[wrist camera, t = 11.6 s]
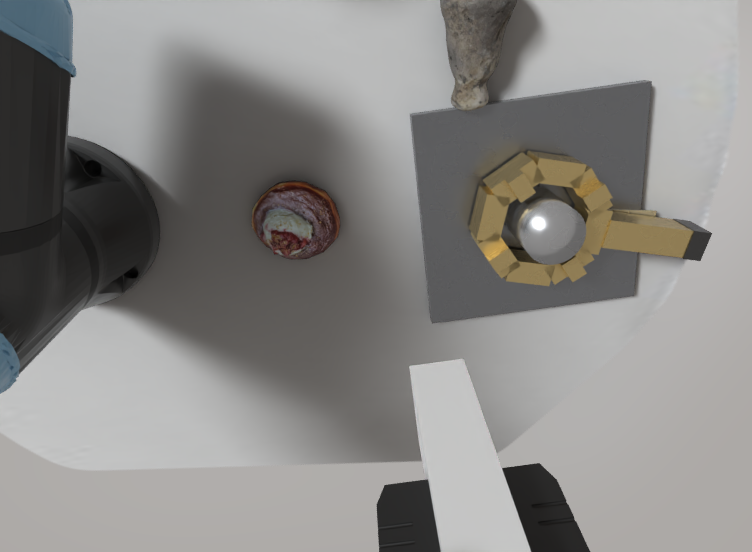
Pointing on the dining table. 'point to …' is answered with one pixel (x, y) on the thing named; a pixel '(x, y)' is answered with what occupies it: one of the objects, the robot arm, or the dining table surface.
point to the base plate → (491, 148)
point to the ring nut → (589, 203)
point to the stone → (474, 46)
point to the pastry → (296, 220)
